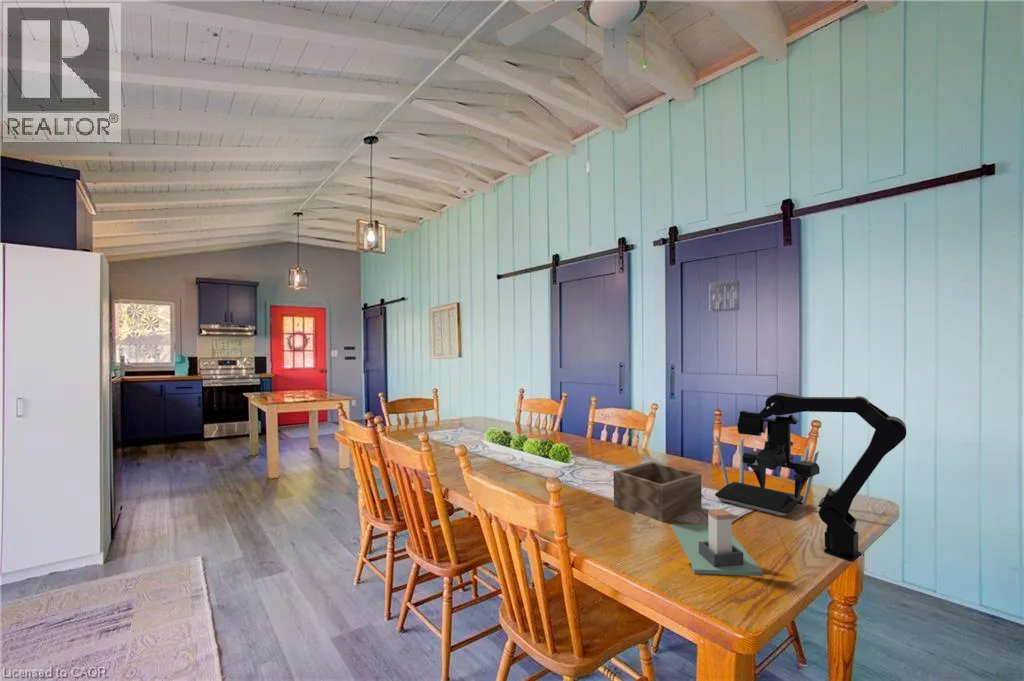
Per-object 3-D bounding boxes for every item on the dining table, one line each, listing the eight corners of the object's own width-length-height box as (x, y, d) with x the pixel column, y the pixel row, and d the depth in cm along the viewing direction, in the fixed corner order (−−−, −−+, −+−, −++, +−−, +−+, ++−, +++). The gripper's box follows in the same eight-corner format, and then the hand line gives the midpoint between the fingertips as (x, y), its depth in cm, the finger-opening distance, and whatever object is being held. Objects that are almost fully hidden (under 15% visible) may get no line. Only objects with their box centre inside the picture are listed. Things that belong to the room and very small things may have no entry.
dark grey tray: (726, 551, 126) (726, 539, 126) (743, 564, 118) (743, 552, 118) (698, 553, 125) (698, 541, 125) (714, 567, 117) (714, 555, 117)
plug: (723, 554, 124) (722, 508, 124) (732, 562, 120) (731, 514, 120) (708, 555, 123) (708, 509, 123) (717, 563, 119) (716, 515, 119)
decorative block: (649, 470, 205) (649, 453, 205) (691, 492, 176) (691, 472, 175) (633, 471, 203) (633, 454, 203) (673, 494, 174) (672, 473, 174)
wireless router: (699, 497, 170) (698, 441, 170) (727, 483, 185) (727, 431, 185) (806, 524, 145) (805, 458, 145) (828, 505, 160) (828, 445, 160)
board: (670, 527, 144) (669, 523, 144) (725, 528, 142) (725, 525, 142) (694, 573, 116) (694, 569, 116) (763, 576, 115) (763, 572, 115)
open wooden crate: (701, 510, 157) (701, 474, 157) (662, 525, 146) (662, 486, 146) (652, 494, 174) (652, 461, 174) (613, 506, 162) (613, 471, 162)
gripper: (731, 436, 137) (731, 490, 138) (800, 448, 122) (801, 509, 122) (752, 431, 144) (752, 483, 144) (820, 442, 128) (820, 500, 129)
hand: (779, 493), depth 135 cm, fingers open, 9 cm apart
